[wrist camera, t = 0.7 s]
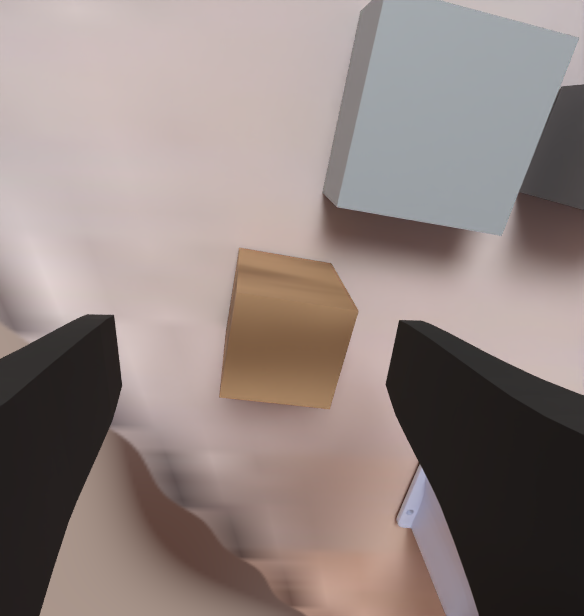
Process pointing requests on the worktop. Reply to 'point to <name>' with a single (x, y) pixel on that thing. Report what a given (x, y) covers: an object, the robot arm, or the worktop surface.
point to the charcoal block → (560, 153)
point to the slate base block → (442, 113)
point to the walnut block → (285, 331)
